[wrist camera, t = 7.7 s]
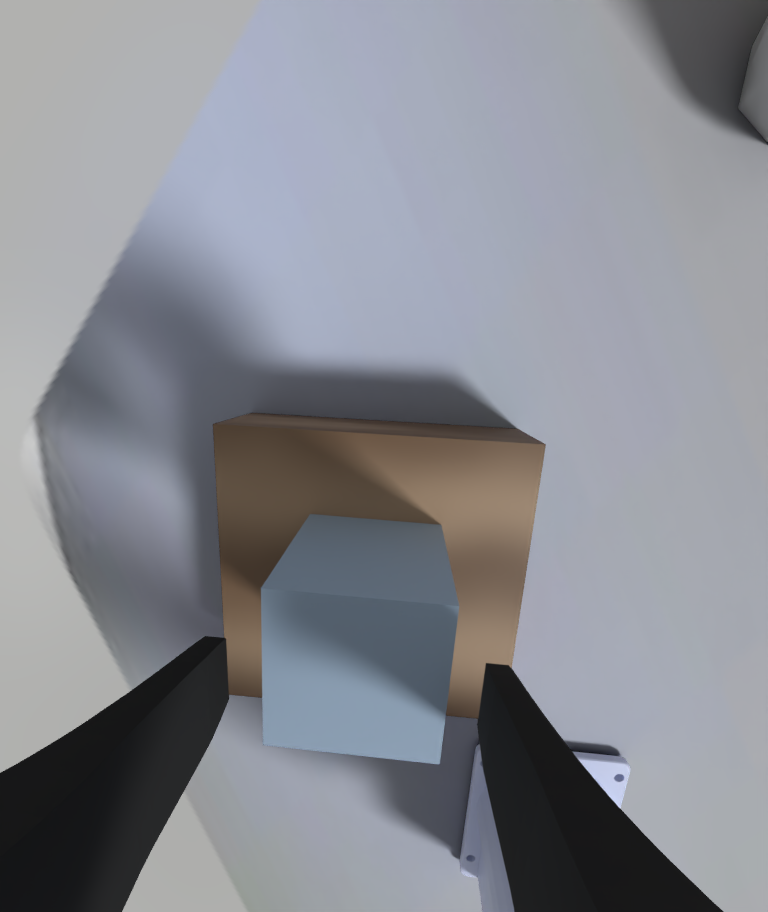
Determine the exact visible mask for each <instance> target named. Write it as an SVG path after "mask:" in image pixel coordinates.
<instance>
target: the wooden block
mask: <svg viewBox="0 0 768 912" xmlns="http://www.w3.org/2000/svg"><path fill="white" fill-rule="evenodd" d="M213 435H214V454H215V472H216V491H217V510H218V529H219V548H220V566H221V585H222V604H223V623H224V638H226V645H227V666H228V688H229V695H239V696H249V697H260V698H262V630H261V587H262V586H263V584H264V583H265V581H266V580H267V578H268V577H269V575H270V574H271V572H272V571H273V569H274V568H275V566H276V565H277V563H278V562H279V560H280V559H281V557H282V556H283V554H284V553H285V551H286V549H287V548H288V546H289V545H290V543H291V542H292V540H293V539H294V537H295V536H296V534H297V533H298V531H299V530H300V528H301V527H302V525H303V524H304V522H305V521H306V519H307V518H308V516H309V515H310V514H317V515H329V516H341V517H353V518H365V519H377V520H389V521H401V522H413V523H425V524H437V525H442V530H443V534H444V539H445V543H446V548H447V553H448V557H449V562H450V566H451V571H452V575H453V580H454V584H455V589H456V593H457V598H458V602H459V613H458V621H457V629H456V637H455V645H454V653H453V661H452V669H451V677H450V685H449V694H448V702H447V710H446V716H456V717H466V718H477V719H478V716H479V709H480V702H481V695H482V687H483V680H484V673H485V666H486V663H492V664H502V665H509V666H510V667H511V668H512V661H513V655H514V648H515V642H516V635H517V629H518V622H519V615H520V609H521V602H522V596H523V589H524V583H525V576H526V570H527V563H528V557H529V550H530V544H531V537H532V531H533V524H534V518H535V511H536V504H537V498H538V491H539V485H540V478H541V472H542V465H543V459H544V452H545V446H546V444H544V443H542V442H540V441H538V440H537V439H535V438H533V437H531V436H530V435H528V434H526V433H524V432H522V431H521V430H519V429H513V428H496V427H479V426H463V425H446V424H429V423H413V422H396V421H379V420H363V419H346V418H329V417H313V416H296V415H279V414H262V413H249V414H246V415H242V416H239V417H235V418H232V419H229V420H225V421H222V422H218V423H215V424H213Z"/></svg>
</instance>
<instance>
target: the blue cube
mask: <svg viewBox="0 0 768 912" xmlns="http://www.w3.org/2000/svg"><path fill="white" fill-rule="evenodd" d="M458 613H459V602H458V598H457V593H456V589H455V584H454V580H453V575H452V571H451V566H450V562H449V557H448V553H447V548H446V543H445V539H444V534H443V530H442V525H437V524H425V523H413V522H401V521H389V520H377V519H365V518H353V517H341V516H329V515H317V514H310V515H309V516H308V518H307V519H306V521H305V522H304V524H303V525H302V527H301V528H300V530H299V531H298V533H297V534H296V536H295V537H294V539H293V540H292V542H291V543H290V545H289V546H288V548H287V549H286V551H285V553H284V554H283V556H282V557H281V559H280V560H279V562H278V563H277V565H276V566H275V568H274V569H273V571H272V572H271V574H270V575H269V577H268V578H267V580H266V581H265V583H264V584H263V586H262V587H261V630H262V710H263V745H266V746H276V747H285V748H294V749H303V750H312V751H321V752H330V753H339V754H349V755H358V756H367V757H376V758H385V759H394V760H403V761H413V762H422V763H431V764H440V758H441V750H442V742H443V734H444V726H445V718H446V710H447V702H448V694H449V685H450V677H451V669H452V661H453V653H454V645H455V637H456V629H457V621H458Z"/></svg>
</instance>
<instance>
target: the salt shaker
mask: <svg viewBox="0 0 768 912" xmlns="http://www.w3.org/2000/svg"><path fill="white" fill-rule="evenodd" d="M738 109H739V110H740V111H741V112H742V113H743V115H744V116H745V117H746V118H747V119H748V120H749V122H750V123H751V124H752V125H753V126H754V127H755V129H756V130H757V131H758V132H759V133H760V134H761V135H762V137H763V138H764V139H765V140H766V141H767V142H768V17H767V18H766V20H765V22H764V24H763V26H762V28H761V30H760V32H759V34H758V36H757V38H756V40H755V42H754V44H753V46H752V49H751V53H750V58H749V62H748V66H747V71H746V75H745V80H744V84H743V89H742V93H741V98H740V102H739V106H738Z"/></svg>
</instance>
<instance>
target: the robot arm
mask: <svg viewBox="0 0 768 912" xmlns="http://www.w3.org/2000/svg"><path fill="white" fill-rule="evenodd" d="M228 700H229V688H228V666H227V645H226V638H218V637H208V636H205V637H203V638H202V639H201V640H199V641H198V642H196V643H195V644H194V645H192V646H191V647H190V648H188V649H187V650H186V651H184V652H183V653H182V654H180V655H179V656H178V657H176V658H175V659H174V660H172V661H171V662H170V663H168V664H167V665H166V666H164V667H163V668H162V669H160V670H159V671H158V672H156V673H155V674H153V675H152V676H151V677H149V678H148V679H147V680H145V681H144V682H143V683H141V684H140V685H138V686H137V687H136V688H134V689H133V690H132V691H130V692H129V693H127V694H126V695H125V696H123V697H121V698H120V699H119V700H117V701H116V702H114V703H113V704H111V705H110V706H108V707H107V708H106V709H104V710H102V711H101V712H99V713H98V714H97V715H95V716H94V717H92V718H91V719H89V720H88V721H86V722H85V723H83V724H82V725H80V726H79V727H77V728H76V729H74V730H73V731H71V732H69V733H68V734H66V735H64V736H63V737H61V738H60V739H58V740H56V741H55V742H53V743H51V744H50V745H48V746H47V747H45V748H43V749H41V750H40V751H38V752H36V753H35V754H33V755H31V756H30V757H28V758H26V759H24V760H23V761H21V762H20V763H18V764H16V765H14V766H12V767H10V768H9V769H7V770H5V771H3V772H1V773H0V912H122V910H123V908H124V906H125V904H126V902H127V900H128V898H129V895H130V893H131V891H132V889H133V887H134V885H135V882H136V880H137V878H138V876H139V874H140V872H141V870H142V868H143V866H144V864H145V862H146V859H147V858H148V856H149V854H150V852H151V850H152V848H153V846H154V844H155V842H156V841H157V839H158V837H159V835H160V833H161V832H162V830H163V828H164V826H165V824H166V823H167V821H168V818H169V817H170V815H171V813H172V811H173V810H174V808H175V806H176V804H177V803H178V801H179V799H180V797H181V795H182V794H183V792H184V790H185V788H186V786H187V785H188V783H189V781H190V779H191V777H192V775H193V774H194V772H195V770H196V768H197V766H198V764H199V763H200V761H201V759H202V757H203V755H204V753H205V752H206V750H207V748H208V746H209V744H210V742H211V740H212V738H213V736H214V734H215V731H216V729H217V727H218V724H219V722H220V720H221V717H222V715H223V712H224V710H225V707H226V705H227V703H228ZM477 726H478V734H479V742H480V744H478V745H477V746H476V749H475V756H474V763H473V770H472V777H471V784H470V791H469V798H468V806H467V813H466V820H465V827H464V834H463V841H462V848H461V855H460V871H461V872H462V874H464V875H465V876H469V877H478V882H479V889H480V896H481V904H482V911H483V912H723V911H722V910H721V909H720V908H719V907H718V906H717V905H716V904H714V903H713V902H712V901H711V900H710V899H709V898H708V897H707V896H706V895H705V894H704V893H703V892H702V891H701V890H700V889H699V888H698V887H697V886H696V885H695V884H694V883H693V882H692V881H691V880H689V879H688V878H687V877H686V876H685V875H684V874H683V873H682V872H681V871H680V870H679V869H678V868H677V867H676V866H675V865H674V864H673V863H672V862H671V861H670V860H669V859H668V858H667V857H666V856H665V855H664V854H663V853H662V852H661V851H660V850H659V849H658V848H657V847H656V846H655V845H654V844H653V843H652V842H651V841H650V840H649V839H648V838H647V837H646V836H645V835H644V834H643V833H642V832H641V830H640V829H639V828H638V827H637V826H636V825H635V824H634V823H633V822H632V821H631V820H630V819H629V818H628V816H627V815H626V814H625V813H624V812H623V811H622V810H621V809H620V808H621V804H622V801H623V797H624V793H625V789H626V785H627V782H628V778H629V774H630V766H629V764H628V762H627V761H626V759H625V758H623V757H620V756H612V755H602V754H593V753H583V752H573V751H571V750H570V748H569V747H568V746H567V744H566V743H565V742H564V740H563V739H562V738H561V737H560V735H559V734H558V733H557V731H556V730H555V729H554V727H553V726H552V725H551V723H550V722H549V721H548V719H547V718H546V717H545V715H544V714H543V713H542V711H541V710H540V708H539V707H538V706H537V704H536V703H535V701H534V700H533V699H532V697H531V696H530V694H529V693H528V691H527V690H526V689H525V687H524V686H523V684H522V683H521V681H520V680H519V678H518V677H517V676H516V674H515V673H514V671H513V670H512V668H511V667H510V666H509V665H502V664H492V663H486V666H485V673H484V680H483V687H482V695H481V702H480V709H479V716H478V723H477Z"/></svg>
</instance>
